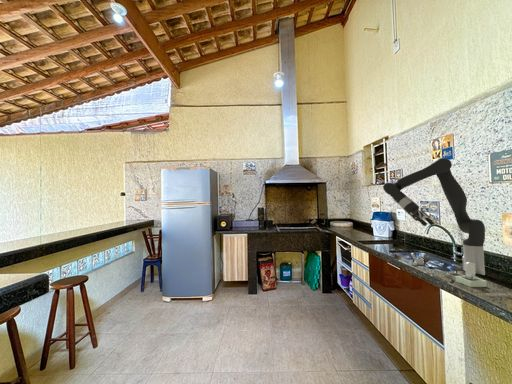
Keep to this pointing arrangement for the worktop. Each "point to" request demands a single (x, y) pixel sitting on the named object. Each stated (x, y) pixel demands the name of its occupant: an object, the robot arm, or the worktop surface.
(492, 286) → the worktop surface
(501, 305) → the worktop surface
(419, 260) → the lighter
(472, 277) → the shiny silver cylinder
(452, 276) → the socket block
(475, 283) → the bin
